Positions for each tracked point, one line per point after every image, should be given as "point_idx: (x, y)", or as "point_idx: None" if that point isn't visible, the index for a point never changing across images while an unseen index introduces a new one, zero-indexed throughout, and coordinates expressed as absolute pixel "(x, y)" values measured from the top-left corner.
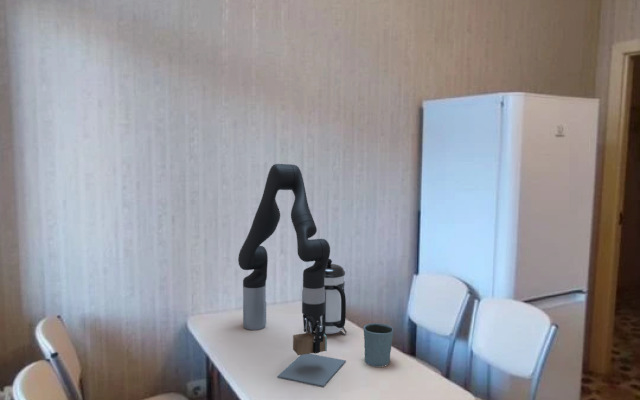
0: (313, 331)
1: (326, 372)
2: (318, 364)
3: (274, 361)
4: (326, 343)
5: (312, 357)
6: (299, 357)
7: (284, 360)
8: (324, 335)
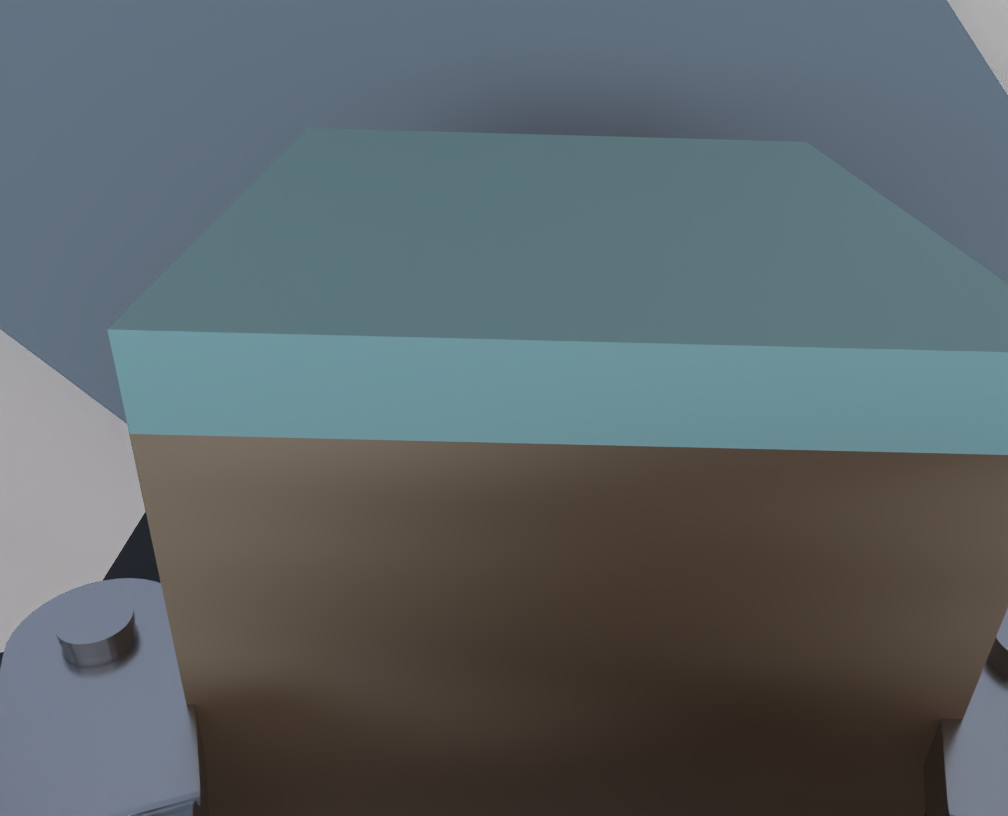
0: (197, 761)
1: (814, 121)
2: (431, 122)
3: None
4: (909, 231)
5: (78, 104)
6: (40, 332)
7: (66, 529)
8: (897, 430)
